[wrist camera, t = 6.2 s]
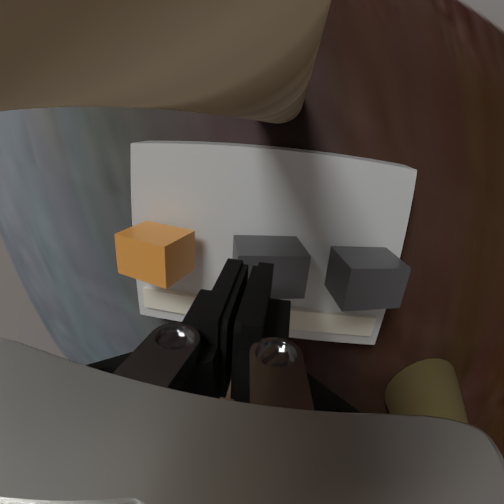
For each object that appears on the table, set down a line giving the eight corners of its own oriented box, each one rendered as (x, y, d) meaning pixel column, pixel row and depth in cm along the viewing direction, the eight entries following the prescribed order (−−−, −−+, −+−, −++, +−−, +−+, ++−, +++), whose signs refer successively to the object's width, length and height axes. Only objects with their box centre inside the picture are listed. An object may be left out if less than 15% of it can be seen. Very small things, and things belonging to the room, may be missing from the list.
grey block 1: (296, 236, 15) (310, 256, 13) (291, 274, 16) (304, 298, 14) (233, 234, 15) (238, 255, 13) (231, 273, 16) (235, 299, 14)
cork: (417, 419, 22) (441, 528, 12) (368, 400, 22) (384, 528, 12) (468, 373, 20) (516, 483, 10) (423, 346, 19) (473, 479, 9)
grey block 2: (385, 247, 15) (411, 268, 13) (377, 283, 16) (399, 307, 14) (330, 246, 15) (351, 268, 12) (324, 284, 15) (341, 311, 13)
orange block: (195, 230, 15) (164, 246, 13) (194, 268, 16) (166, 289, 14) (146, 220, 16) (114, 234, 14) (148, 256, 17) (118, 272, 15)
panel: (404, 164, 15) (419, 171, 13) (369, 325, 19) (375, 348, 17) (147, 140, 17) (128, 143, 15) (152, 298, 21) (138, 316, 18)
